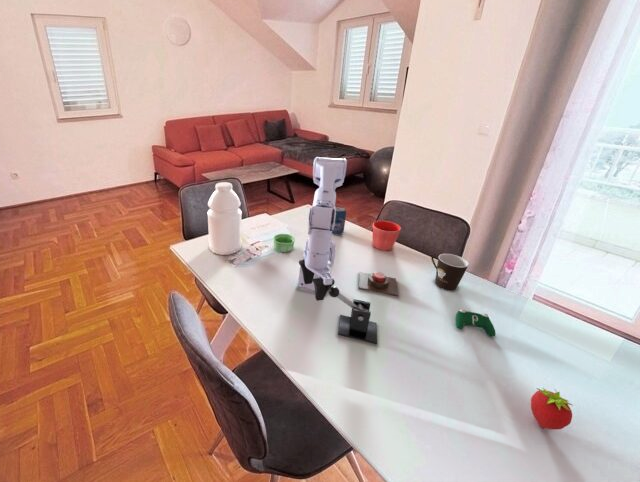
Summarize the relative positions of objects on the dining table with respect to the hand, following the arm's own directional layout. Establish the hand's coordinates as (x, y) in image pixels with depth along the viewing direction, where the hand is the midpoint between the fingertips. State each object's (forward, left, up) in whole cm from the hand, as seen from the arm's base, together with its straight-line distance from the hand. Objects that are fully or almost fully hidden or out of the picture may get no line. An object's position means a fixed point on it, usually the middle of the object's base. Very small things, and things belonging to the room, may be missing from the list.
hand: (313, 291), depth 89 cm
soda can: (+2, +63, -11) cm, 64 cm away
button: (+19, +25, -8) cm, 32 cm away
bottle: (-41, +32, -11) cm, 53 cm away
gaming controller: (+44, +13, -11) cm, 47 cm away
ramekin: (-17, +40, -10) cm, 45 cm away
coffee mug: (+41, +35, -11) cm, 55 cm away
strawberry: (+49, -15, -11) cm, 53 cm away
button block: (+19, +25, -10) cm, 33 cm away
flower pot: (+22, +56, -11) cm, 61 cm away
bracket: (+13, 0, -10) cm, 17 cm away
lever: (+8, 0, -2) cm, 9 cm away
